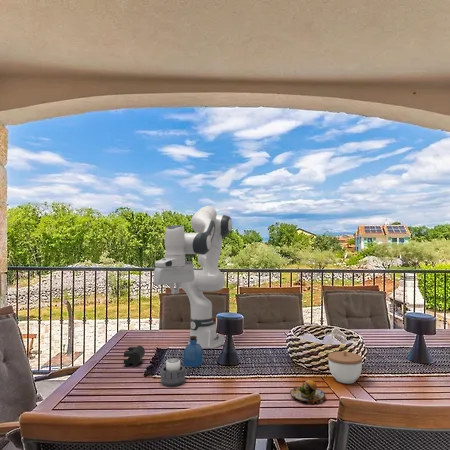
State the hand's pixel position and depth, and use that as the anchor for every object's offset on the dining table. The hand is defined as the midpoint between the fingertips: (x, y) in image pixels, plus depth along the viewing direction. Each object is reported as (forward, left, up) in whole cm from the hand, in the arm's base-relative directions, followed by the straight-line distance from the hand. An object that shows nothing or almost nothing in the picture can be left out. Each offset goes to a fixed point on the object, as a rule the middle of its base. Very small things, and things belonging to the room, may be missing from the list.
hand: (175, 293), depth 162 cm
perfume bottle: (-7, +4, -31) cm, 32 cm away
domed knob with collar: (+12, +14, -31) cm, 36 cm away
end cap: (+10, -16, -31) cm, 37 cm away
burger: (-11, +59, -32) cm, 68 cm away
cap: (+12, +14, -28) cm, 34 cm away
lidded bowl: (-35, +61, -31) cm, 77 cm away
